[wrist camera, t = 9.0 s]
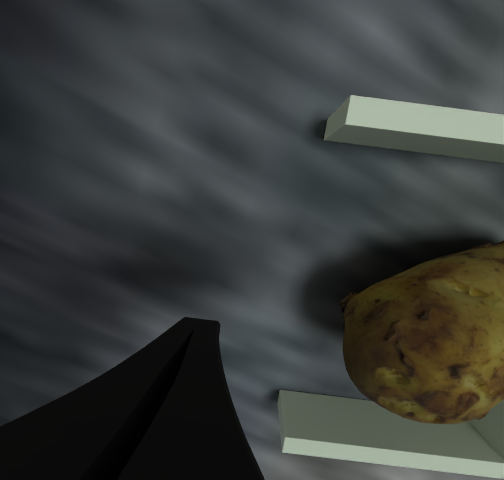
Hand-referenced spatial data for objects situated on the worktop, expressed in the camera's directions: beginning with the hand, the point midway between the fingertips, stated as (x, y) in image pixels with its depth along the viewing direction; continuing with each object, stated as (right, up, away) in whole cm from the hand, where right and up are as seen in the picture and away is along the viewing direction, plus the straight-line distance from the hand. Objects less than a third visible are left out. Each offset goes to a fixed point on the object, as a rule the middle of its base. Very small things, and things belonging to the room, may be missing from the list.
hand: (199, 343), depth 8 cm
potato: (+13, +1, +8) cm, 15 cm away
